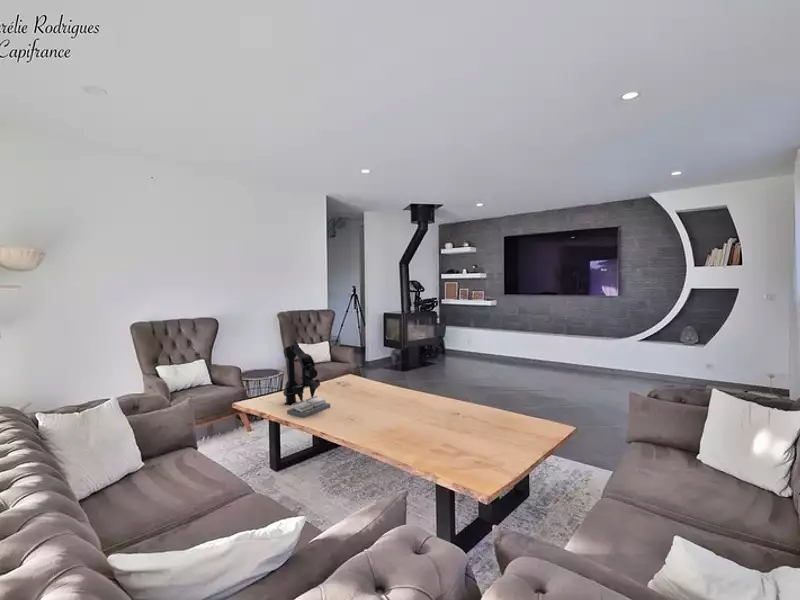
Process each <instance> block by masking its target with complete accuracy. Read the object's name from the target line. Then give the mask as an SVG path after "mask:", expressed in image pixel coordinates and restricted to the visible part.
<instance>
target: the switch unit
mask: <svg viewBox="0 0 800 600" xmlns="http://www.w3.org/2000/svg"><path fill="white" fill-rule="evenodd" d="M330 408H331V403H330V402H329V403H328V402H326V403H324V404H321V405H319V406H316V407H314V406H313V408H311V409H309V410H306V411H303V412H300V411H298V410H296V409H294V408H293V407H292V408H289V409H286V414H287V415H290V416H294V417H297V418H302V419H305V418H309V417H310V416H313V415H315V414H318V413H320V412H323V411H325V410H327V409H330Z"/></svg>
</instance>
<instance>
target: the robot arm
mask: <svg viewBox="0 0 800 600" xmlns="http://www.w3.org/2000/svg"><path fill="white" fill-rule="evenodd" d="M283 354H284V357H285V359H286V367H287V368H286V369H287V371H286V372H287V381H286V383H285V387H284V390H283V396H284V397H285V402H284V405H288V406H292V404H294V403H297V402H298V401H297V396H298V398H299V401H303V400H304V399H303V398H304V392H305V391H304V390H305V389H307V388H309V392H310V398H313V397H315V396H314V395H315V392H316V390H317V389H318V388H319V387H320V386H321V383H320V382H321V381H320V379H318V378H317V376H318V374H319V373H318V371H317V370H316V368H315V367H316V363H315V362H314V361H315V360H314V358H313V357H312V355H310V354H309V353H305V352H304V350H303V349H302V348H301V347H300V344H297V343H294V344H291V345H289V346H287V347H285V348H283ZM296 357H297V358H298V363H299V364H300V368H301V377H300V379H301V383H300V385H299V384H298V382H297V381H296V376H295V375H296V374H295V372H296V370H295V368H296V367H295V359H296Z"/></svg>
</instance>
